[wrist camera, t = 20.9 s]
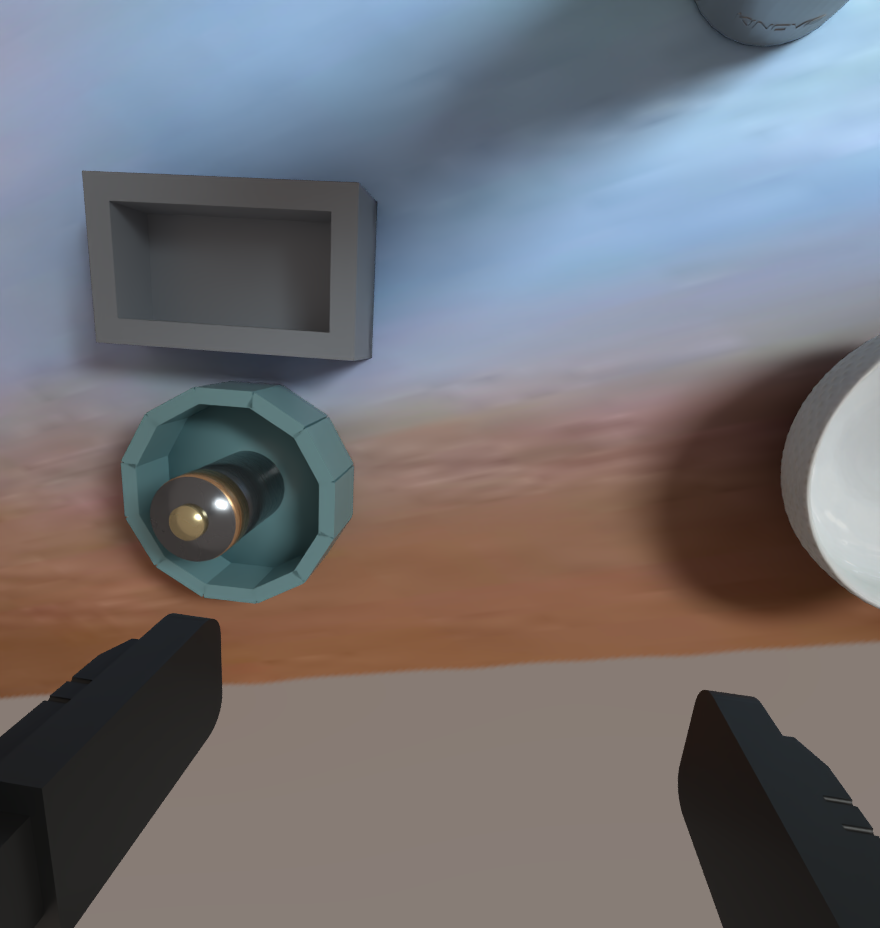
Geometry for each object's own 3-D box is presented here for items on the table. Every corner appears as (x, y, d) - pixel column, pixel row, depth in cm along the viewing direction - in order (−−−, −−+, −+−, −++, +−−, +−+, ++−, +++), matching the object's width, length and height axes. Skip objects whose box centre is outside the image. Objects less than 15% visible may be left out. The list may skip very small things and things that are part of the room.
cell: (213, 447, 38) (138, 476, 30) (284, 452, 37) (227, 482, 30) (216, 517, 39) (146, 562, 31) (285, 523, 38) (231, 570, 31)
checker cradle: (133, 190, 35) (81, 170, 31) (377, 201, 34) (359, 182, 30) (143, 341, 38) (96, 342, 33) (371, 357, 36) (354, 360, 32)
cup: (158, 375, 38) (114, 380, 34) (356, 390, 37) (336, 398, 32) (169, 562, 41) (130, 589, 37) (350, 582, 40) (332, 612, 36)
